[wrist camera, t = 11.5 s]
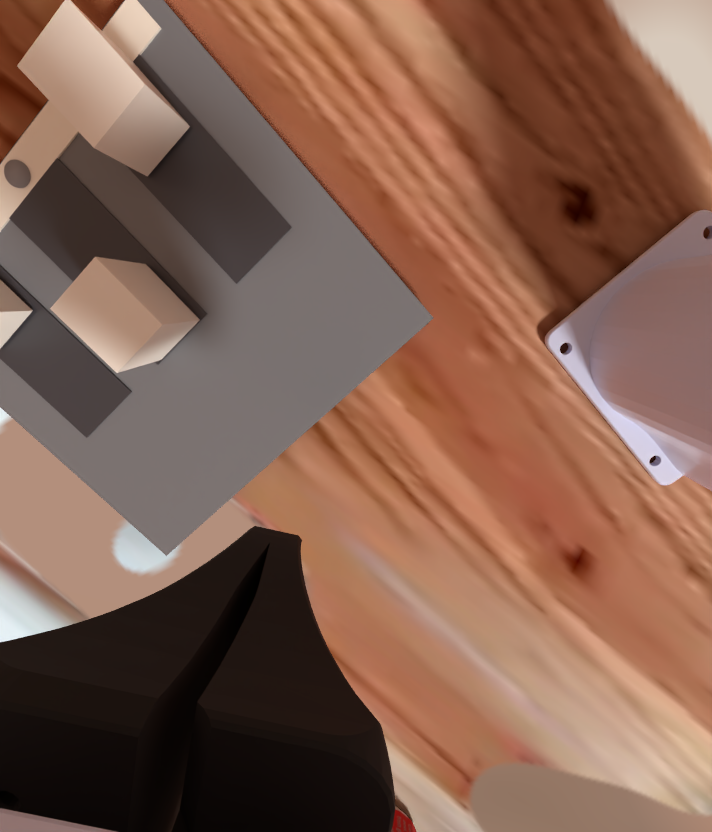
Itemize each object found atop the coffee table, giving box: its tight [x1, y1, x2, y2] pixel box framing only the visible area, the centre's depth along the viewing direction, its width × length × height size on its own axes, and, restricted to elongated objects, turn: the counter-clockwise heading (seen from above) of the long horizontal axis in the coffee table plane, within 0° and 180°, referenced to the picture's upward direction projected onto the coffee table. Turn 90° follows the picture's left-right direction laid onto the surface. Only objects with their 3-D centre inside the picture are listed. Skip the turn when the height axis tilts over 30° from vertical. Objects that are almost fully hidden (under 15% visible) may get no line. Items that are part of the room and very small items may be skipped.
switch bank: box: [0, 0, 433, 556], centre depth 19 cm, size 16×17×2 cm
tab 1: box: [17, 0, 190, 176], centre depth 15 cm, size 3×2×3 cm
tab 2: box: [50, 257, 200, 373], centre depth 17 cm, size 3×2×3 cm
